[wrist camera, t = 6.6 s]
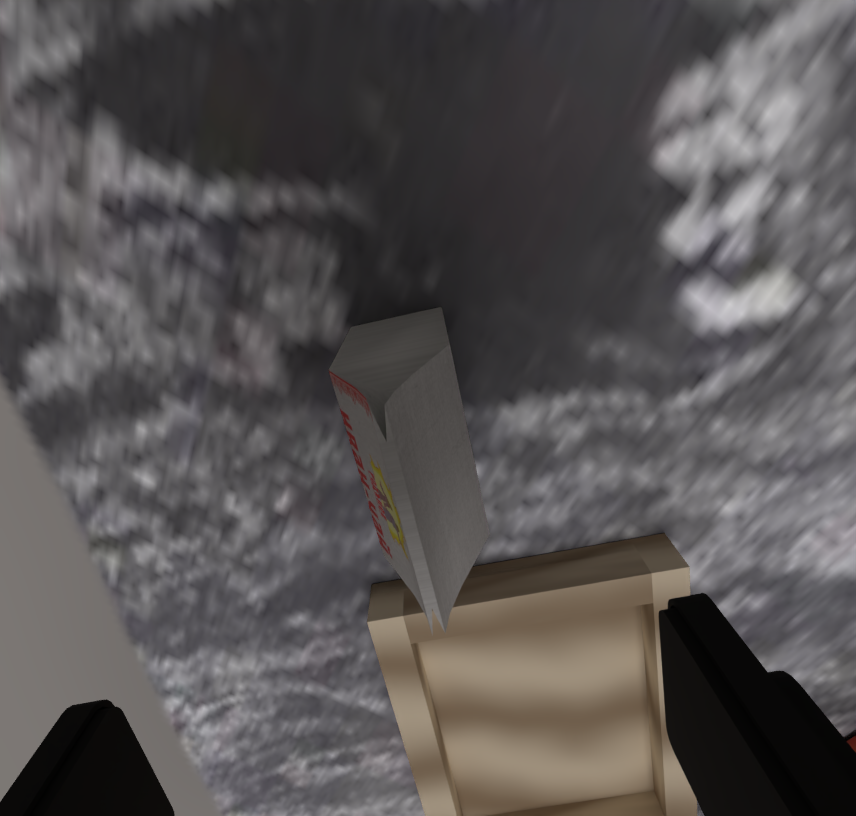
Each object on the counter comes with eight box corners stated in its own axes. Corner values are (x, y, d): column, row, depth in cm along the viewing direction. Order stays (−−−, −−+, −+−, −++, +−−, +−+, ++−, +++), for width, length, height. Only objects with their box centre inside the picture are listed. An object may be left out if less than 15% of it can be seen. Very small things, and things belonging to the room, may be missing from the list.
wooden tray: (371, 584, 26) (367, 621, 24) (664, 533, 25) (689, 566, 23) (441, 826, 33) (443, 874, 30) (677, 790, 32) (697, 837, 29)
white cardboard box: (441, 306, 22) (459, 389, 12) (473, 457, 24) (508, 622, 15) (351, 326, 22) (301, 422, 12) (391, 473, 24) (375, 646, 15)
